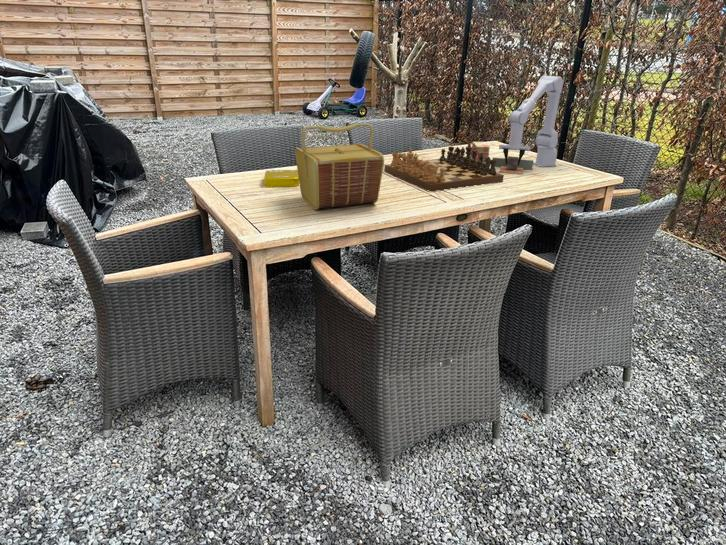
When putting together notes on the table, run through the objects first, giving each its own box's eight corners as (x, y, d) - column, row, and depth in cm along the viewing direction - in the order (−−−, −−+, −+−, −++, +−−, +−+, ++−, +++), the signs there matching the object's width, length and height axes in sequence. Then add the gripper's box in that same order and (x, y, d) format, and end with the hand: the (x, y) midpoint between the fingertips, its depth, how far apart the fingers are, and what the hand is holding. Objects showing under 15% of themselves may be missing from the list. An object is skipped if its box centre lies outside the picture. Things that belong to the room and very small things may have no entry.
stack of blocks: (466, 161, 274) (469, 138, 268) (478, 161, 274) (481, 138, 268) (474, 171, 254) (476, 146, 249) (486, 171, 254) (489, 146, 249)
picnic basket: (314, 215, 189) (311, 132, 176) (294, 196, 210) (290, 121, 197) (385, 207, 199) (388, 128, 187) (359, 189, 221) (360, 117, 208)
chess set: (430, 193, 220) (432, 158, 213) (384, 172, 252) (385, 141, 246) (502, 182, 236) (506, 150, 230) (451, 164, 269) (453, 135, 262)
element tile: (264, 188, 222) (263, 177, 220) (266, 179, 236) (265, 169, 234) (299, 187, 224) (298, 176, 222) (298, 178, 238) (298, 168, 235)
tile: (522, 169, 258) (523, 167, 258) (522, 174, 249) (522, 173, 248) (500, 167, 261) (500, 166, 261) (499, 172, 252) (499, 171, 251)
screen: (532, 169, 259) (533, 160, 257) (532, 169, 258) (533, 161, 256) (491, 166, 264) (492, 157, 262) (491, 166, 263) (492, 157, 261)
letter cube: (517, 167, 256) (518, 156, 254) (516, 169, 252) (518, 158, 250) (506, 166, 257) (508, 156, 255) (506, 168, 253) (507, 158, 251)
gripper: (500, 137, 246) (496, 165, 252) (531, 139, 243) (527, 167, 248) (500, 134, 252) (497, 162, 258) (531, 136, 249) (527, 164, 254)
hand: (512, 164), depth 254 cm, fingers closed on letter cube, 5 cm apart
